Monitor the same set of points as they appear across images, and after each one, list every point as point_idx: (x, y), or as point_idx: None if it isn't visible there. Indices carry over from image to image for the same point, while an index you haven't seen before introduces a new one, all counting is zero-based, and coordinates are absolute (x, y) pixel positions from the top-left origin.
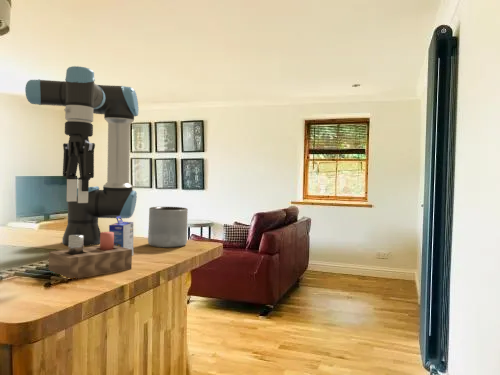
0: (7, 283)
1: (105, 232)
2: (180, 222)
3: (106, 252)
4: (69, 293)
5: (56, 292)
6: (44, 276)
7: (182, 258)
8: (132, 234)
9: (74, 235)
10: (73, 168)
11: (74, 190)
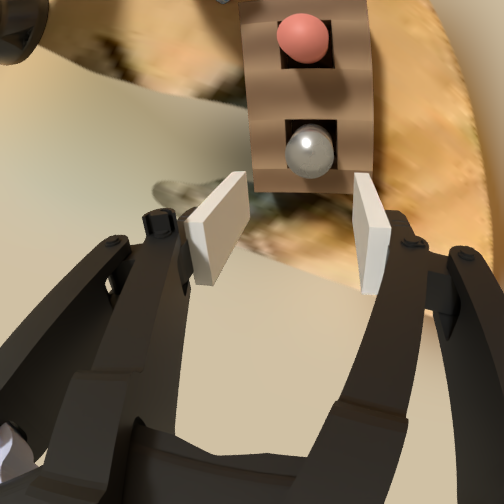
0: (303, 266)
1: (293, 37)
2: None
3: (364, 77)
4: (445, 227)
5: (424, 238)
6: (296, 198)
7: None
8: None
9: (301, 157)
10: (174, 309)
11: (231, 207)
